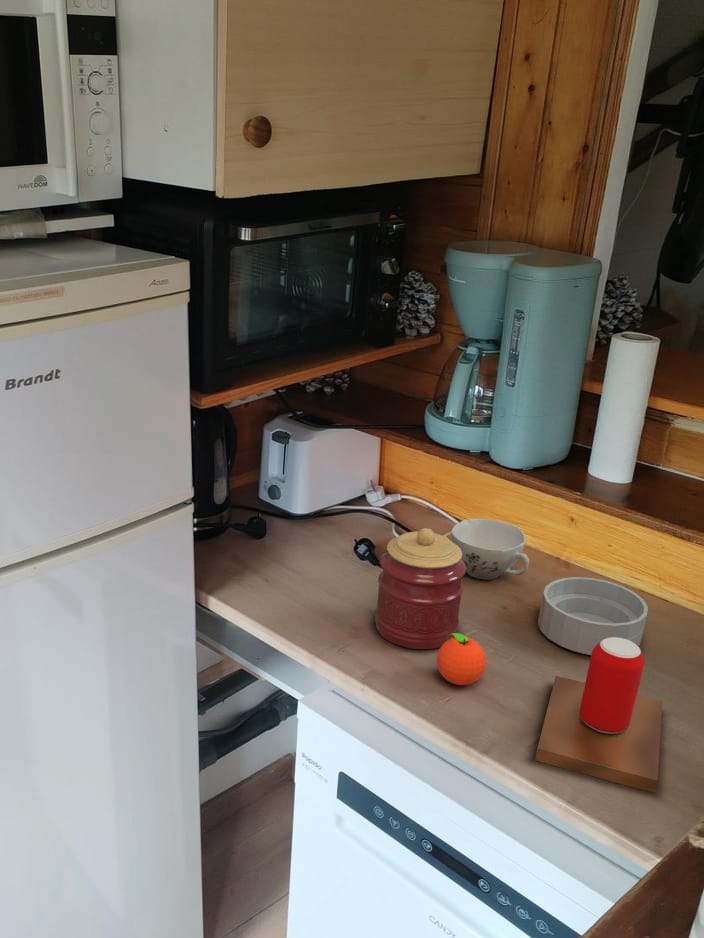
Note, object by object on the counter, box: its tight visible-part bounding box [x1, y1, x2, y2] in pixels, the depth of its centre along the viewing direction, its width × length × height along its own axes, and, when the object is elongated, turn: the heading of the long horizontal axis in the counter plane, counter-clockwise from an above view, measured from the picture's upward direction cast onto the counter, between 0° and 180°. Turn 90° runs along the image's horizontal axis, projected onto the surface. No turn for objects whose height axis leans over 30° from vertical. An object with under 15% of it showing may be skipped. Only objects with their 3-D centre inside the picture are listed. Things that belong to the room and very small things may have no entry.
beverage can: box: [579, 637, 645, 734], centre depth 116 cm, size 6×6×12 cm
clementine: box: [436, 632, 487, 686], centre depth 130 cm, size 8×7×7 cm
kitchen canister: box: [374, 527, 467, 650], centre depth 140 cm, size 13×13×18 cm
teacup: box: [451, 517, 530, 581], centre depth 159 cm, size 15×12×8 cm
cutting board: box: [534, 675, 663, 794], centre depth 119 cm, size 14×18×2 cm
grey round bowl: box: [537, 576, 649, 656], centre depth 142 cm, size 15×15×6 cm
